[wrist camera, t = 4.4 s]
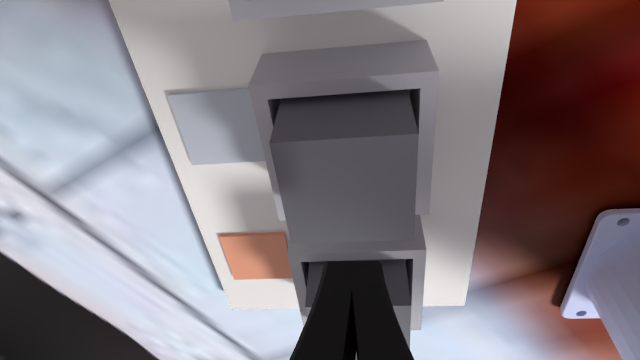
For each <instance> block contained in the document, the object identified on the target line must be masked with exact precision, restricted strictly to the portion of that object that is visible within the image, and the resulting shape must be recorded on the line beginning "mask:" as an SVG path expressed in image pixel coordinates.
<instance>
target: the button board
mask: <svg viewBox="0 0 640 360" xmlns="http://www.w3.org/2000/svg"><path fill="white" fill-rule="evenodd" d="M108 1H109V3H110V6H111V8H112V11H113V13H114V16H115V18H116V21H117V23H118V26H119V28H120V31H121V33H122V36H123V38H124V41H125V43H126V46H127V48H128V51H129V53H130V56H131V58H132V61H133V63H134V66H135V68H136V71H137V73H138V76H139V78H140V81H141V83H142V86H143V88H144V91H145V93H146V96H147V98H148V101H149V103H150V106H151V108H152V111H153V114H154V116H155V119H156V121H157V124H158V126H159V129H160V131H161V134H162V136H163V139H164V141H165V144H166V146H167V149H168V151H169V154H170V156H171V159H172V161H173V164H174V166H175V169H176V171H177V174H178V176H179V179H180V181H181V184H182V186H183V189H184V191H185V194H186V196H187V199H188V201H189V204H190V206H191V209H192V211H193V214H194V216H195V219H196V221H197V224H198V226H199V229H200V231H201V234H202V236H203V239H204V241H205V244H206V246H207V249H208V252H209V254H210V257H211V259H212V262H213V264H214V267H215V269H216V272H217V274H218V277H219V279H220V282H221V284H222V287H223V289H224V292H225V294H226V297H227V299H228V302H229V304H230V307H231V309H232V310H234V309H292V308H300V312H301V316H302V321H303V325H305V323H306V320H307V315H306V310H305V301H306V291H307V281H308V271H309V262H318V261H352V260H386V259H405V262H406V270H407V277H408V285H409V292H410V299H411V325H410V330H421V324H422V309H423V306H465V300H466V294H467V288H468V282H469V277H470V271H471V265H472V259H473V253H474V247H475V242H476V236H477V230H478V224H479V218H480V212H481V206H482V201H483V195H484V189H485V183H486V177H487V171H488V165H489V160H490V154H491V148H492V142H493V136H494V130H495V124H496V119H497V113H498V107H499V101H500V95H501V89H502V84H503V78H504V72H505V66H506V60H507V54H508V48H509V43H510V37H511V31H512V25H513V19H514V13H515V7H516V2H517V0H108ZM405 89H408V92H409V96H410V101H411V105H412V109H413V113H414V117H415V122H416V126H417V130H418V157H417V181H416V205H415V229H414V240H401V241H371V242H342V243H313V244H291V241H290V237H289V232H288V228H287V223H286V218H285V214H284V209H283V205H282V200H281V195H280V191H279V186H278V182H277V177H276V172H275V168H274V163H273V159H272V154H271V150H270V145H269V142H270V138H271V134H272V131H273V127H274V123H275V120H276V116H277V112H278V109H279V105H280V101H281V99H282V98H296V97H309V96H323V95H336V94H350V93H364V92H377V91H391V90H405Z"/></svg>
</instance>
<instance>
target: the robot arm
mask: <svg viewBox="0 0 640 360" xmlns="http://www.w3.org/2000/svg"><path fill="white" fill-rule="evenodd" d="M560 312H561V315H562V316H563V317H565V318H601V320H602V322H603V324H604V326H605V328H606V330H607V332H608V333H609V335H610V337H611V339H612V341H613V343H614V345H615V347H616V348H617V350H618V352H619V354H620V356H621V358H622V360H640V208H632V209H610V210H605V211H603V212H601V213H600V214H599V215H598V216H597V218H596V220H595V223H594V225H593V228H592V230H591V233H590V235H589V238H588V240H587V242H586V245H585V247H584V250H583V252H582V255H581V257H580V260H579V262H578V265H577V267H576V270H575V272H574V275H573V277H572V280H571V282H570V284H569V287H568V289H567V292H566V294H565V297H564V299H563V302H562V304H561V307H560ZM356 354H357V360H414V358H413V356H412V354H411V352H410V349H409V347H408V344H407V342H406V340H405V337H404V335H403V332H402V330H401V327H400V325H399V322H398V320H397V317H396V314H395V312H394V309H393V306H392V303H391V300H390V297H389V293H388V290H387V286H386V283H385V278H384V274H383V268H382V264H381V263H380V262H378V261H338V262H327V263H325V264H324V266H323V271H322V275H321V279H320V283H319V286H318V290H317V293H316V296H315V299H314V302H313V304H312V307H311V310H310V313H309V315H308V318H307V320H306V323H305V325H304V328H303V330H302V333H301V335H300V337H299V340H298V342H297V345H296V347H295V349H294V351H293V353H292V355H291V357H290V360H356Z"/></svg>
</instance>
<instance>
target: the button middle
mask: <svg viewBox="0 0 640 360" xmlns="http://www.w3.org/2000/svg"><path fill="white" fill-rule="evenodd" d="M269 145H270V150H271V154H272V159H273V163H274V168H275V172H276V177H277V182H278V186H279V191H280V195H281V200H282V205H283V209H284V214H285V218H286V223H287V228H288V232H289V237H290V241H291V244H313V243H342V242H371V241H401V240H414V229H415V205H416V181H417V157H418V130H417V126H416V122H415V117H414V113H413V109H412V105H411V101H410V96H409V92H408V89H405V90H391V91H377V92H364V93H350V94H336V95H323V96H309V97H296V98H282V99H281V101H280V105H279V109H278V112H277V116H276V120H275V123H274V127H273V131H272V134H271V138H270V142H269Z"/></svg>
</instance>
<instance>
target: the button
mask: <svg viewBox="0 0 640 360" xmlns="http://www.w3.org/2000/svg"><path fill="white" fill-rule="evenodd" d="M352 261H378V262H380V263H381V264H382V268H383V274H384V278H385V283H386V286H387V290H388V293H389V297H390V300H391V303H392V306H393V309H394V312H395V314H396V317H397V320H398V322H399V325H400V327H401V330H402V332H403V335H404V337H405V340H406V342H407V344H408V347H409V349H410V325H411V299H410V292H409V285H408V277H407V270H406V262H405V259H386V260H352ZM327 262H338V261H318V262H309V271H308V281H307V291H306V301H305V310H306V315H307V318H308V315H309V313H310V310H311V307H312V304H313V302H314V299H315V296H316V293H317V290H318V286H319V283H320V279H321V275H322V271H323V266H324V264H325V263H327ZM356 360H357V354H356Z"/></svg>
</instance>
